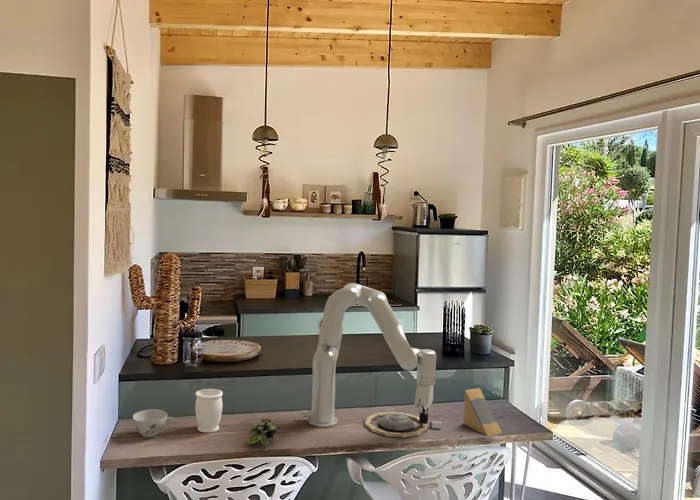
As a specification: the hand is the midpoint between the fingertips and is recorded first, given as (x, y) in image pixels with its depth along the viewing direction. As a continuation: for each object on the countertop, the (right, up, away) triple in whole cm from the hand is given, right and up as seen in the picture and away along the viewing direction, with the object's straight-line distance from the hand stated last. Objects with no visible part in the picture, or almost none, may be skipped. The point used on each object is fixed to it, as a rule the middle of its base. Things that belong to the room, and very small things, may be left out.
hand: (423, 422), depth 251 cm
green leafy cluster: (-63, -2, -22) cm, 67 cm away
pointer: (+6, -3, +1) cm, 6 cm away
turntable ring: (-11, -2, +3) cm, 12 cm away
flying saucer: (-11, -2, +2) cm, 12 cm away
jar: (-87, 0, -10) cm, 88 cm away
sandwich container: (+25, -4, +4) cm, 26 cm away
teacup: (-107, 0, -18) cm, 108 cm away
